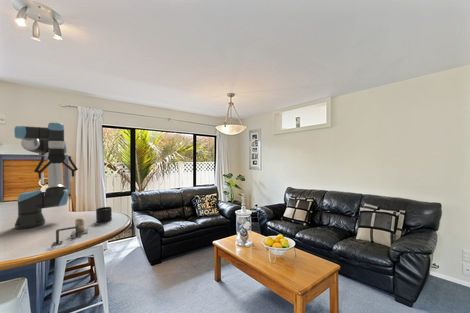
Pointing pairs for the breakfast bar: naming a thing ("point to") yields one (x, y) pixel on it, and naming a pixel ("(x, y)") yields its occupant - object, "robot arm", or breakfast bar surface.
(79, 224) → the beech peg
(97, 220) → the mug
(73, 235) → the wire
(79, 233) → the coaster
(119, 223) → the breakfast bar surface
